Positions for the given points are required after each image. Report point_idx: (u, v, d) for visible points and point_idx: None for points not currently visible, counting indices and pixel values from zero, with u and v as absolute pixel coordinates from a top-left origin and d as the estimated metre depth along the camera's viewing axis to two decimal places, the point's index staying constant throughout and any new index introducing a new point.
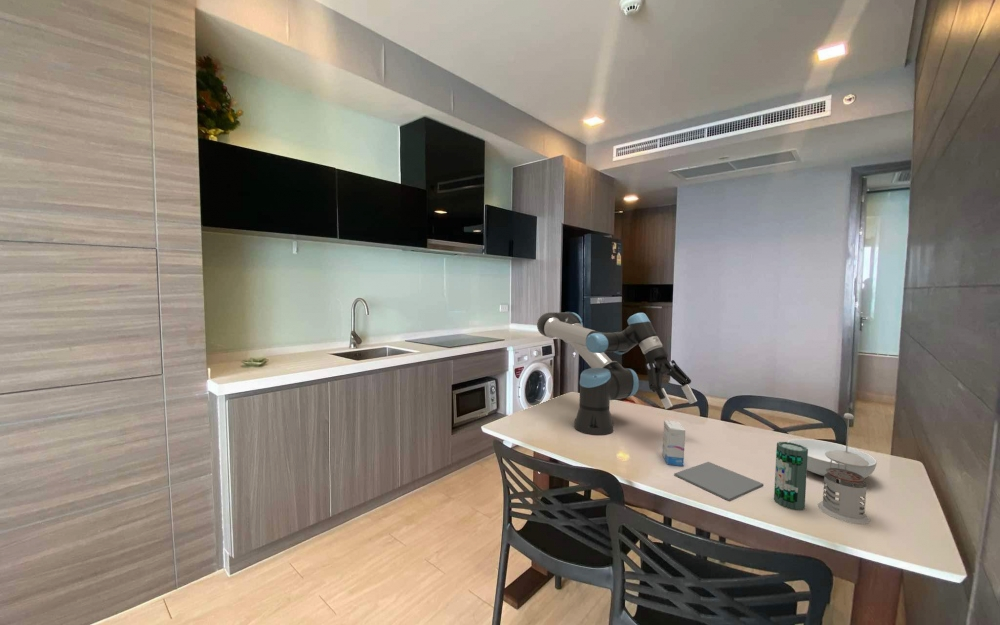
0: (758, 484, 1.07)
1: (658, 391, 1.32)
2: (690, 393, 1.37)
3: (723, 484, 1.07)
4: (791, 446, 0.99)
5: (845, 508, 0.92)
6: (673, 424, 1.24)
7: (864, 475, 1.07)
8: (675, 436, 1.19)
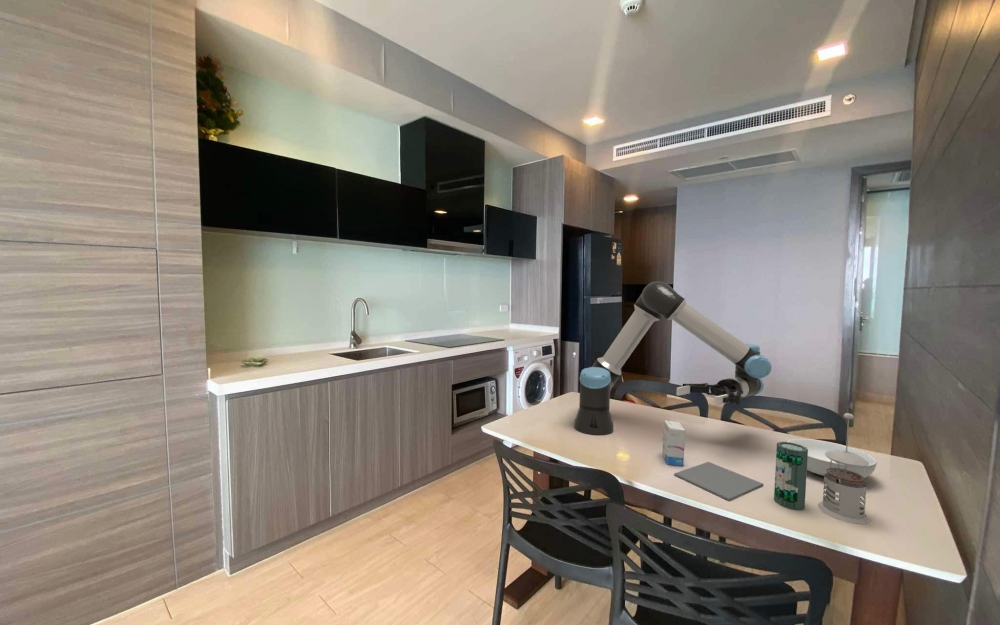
0: (758, 484, 1.07)
1: (731, 400, 1.24)
2: (684, 393, 1.35)
3: (723, 484, 1.07)
4: (791, 446, 0.99)
5: (845, 508, 0.92)
6: (673, 424, 1.24)
7: (864, 475, 1.07)
8: (675, 436, 1.19)
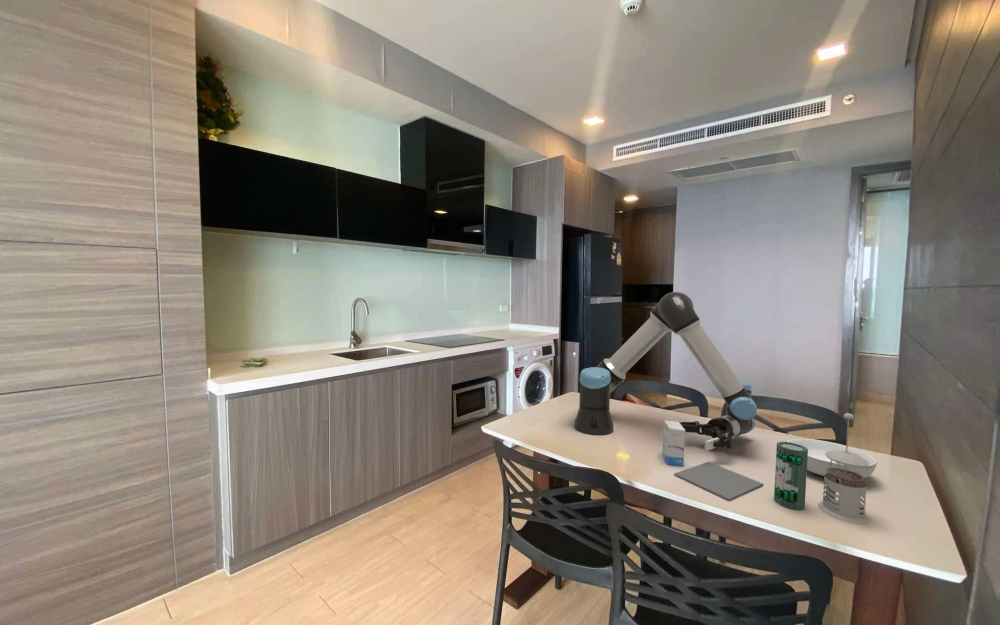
0: (758, 484, 1.07)
1: (721, 444, 1.21)
2: None
3: (723, 484, 1.07)
4: (791, 446, 0.99)
5: (845, 508, 0.92)
6: (673, 424, 1.24)
7: (864, 475, 1.07)
8: (675, 436, 1.19)
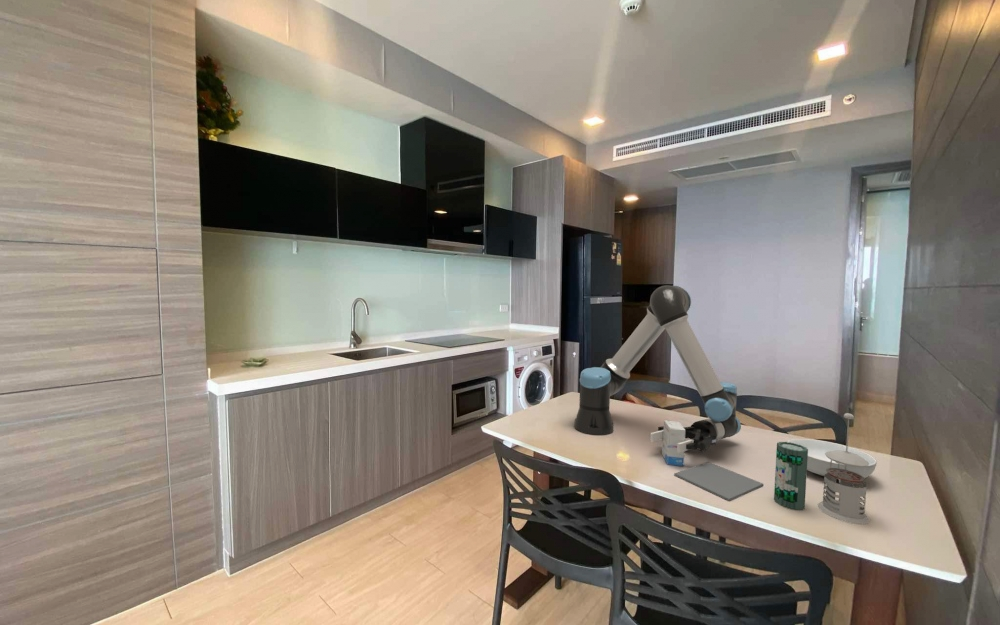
0: (758, 484, 1.07)
1: (694, 447, 1.19)
2: (658, 438, 1.27)
3: (723, 484, 1.07)
4: (791, 446, 0.99)
5: (845, 508, 0.92)
6: (673, 424, 1.24)
7: (864, 475, 1.07)
8: (675, 436, 1.19)
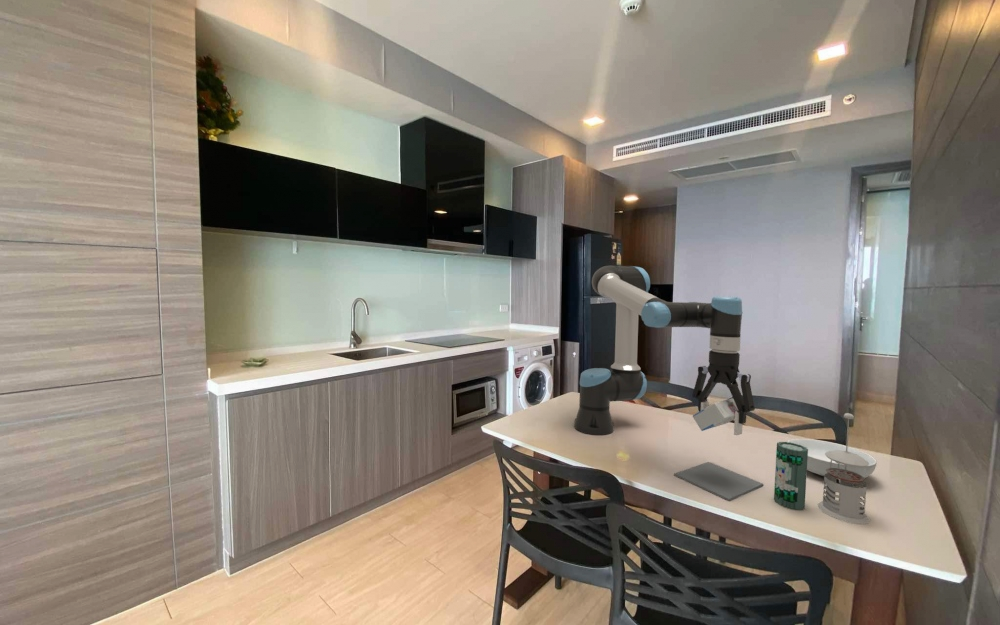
0: (758, 484, 1.07)
1: None
2: None
3: (723, 484, 1.07)
4: (791, 446, 0.99)
5: (845, 508, 0.92)
6: None
7: (864, 475, 1.07)
8: None
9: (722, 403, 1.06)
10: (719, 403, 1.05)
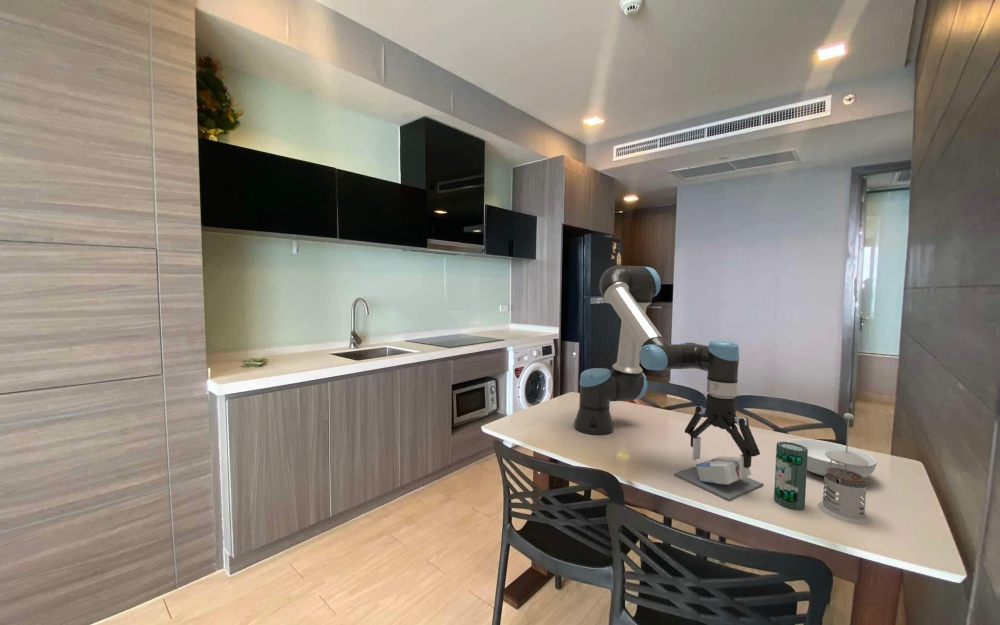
0: (758, 484, 1.07)
1: None
2: None
3: (723, 484, 1.07)
4: (791, 446, 0.99)
5: (845, 508, 0.92)
6: None
7: (864, 475, 1.07)
8: None
9: (731, 465, 1.04)
10: (728, 466, 1.03)
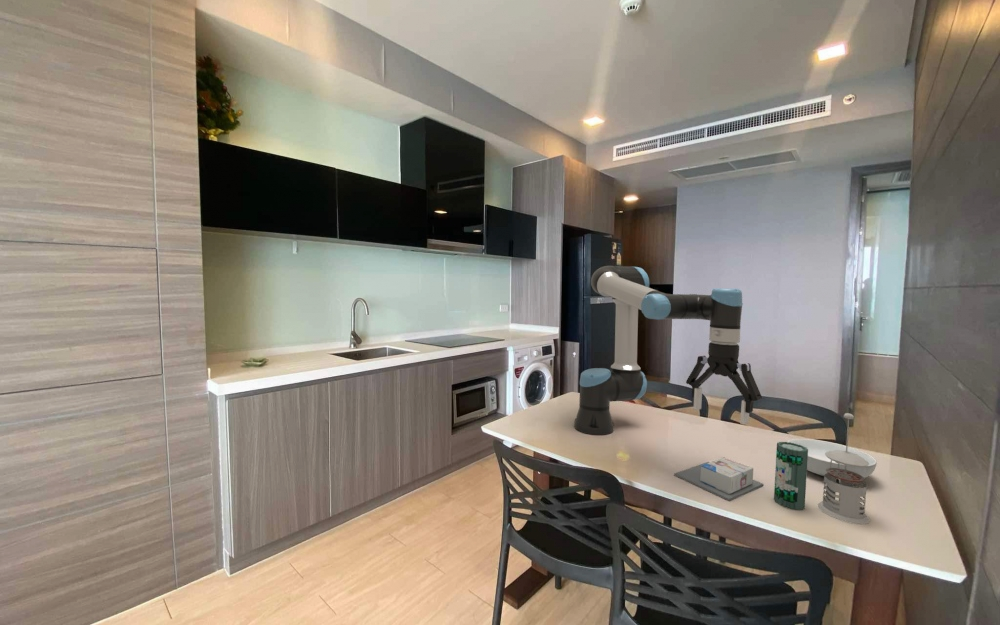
0: (758, 484, 1.07)
1: None
2: None
3: None
4: (791, 446, 0.99)
5: (845, 508, 0.92)
6: None
7: (864, 475, 1.07)
8: None
9: (737, 476, 1.03)
10: (735, 477, 1.02)
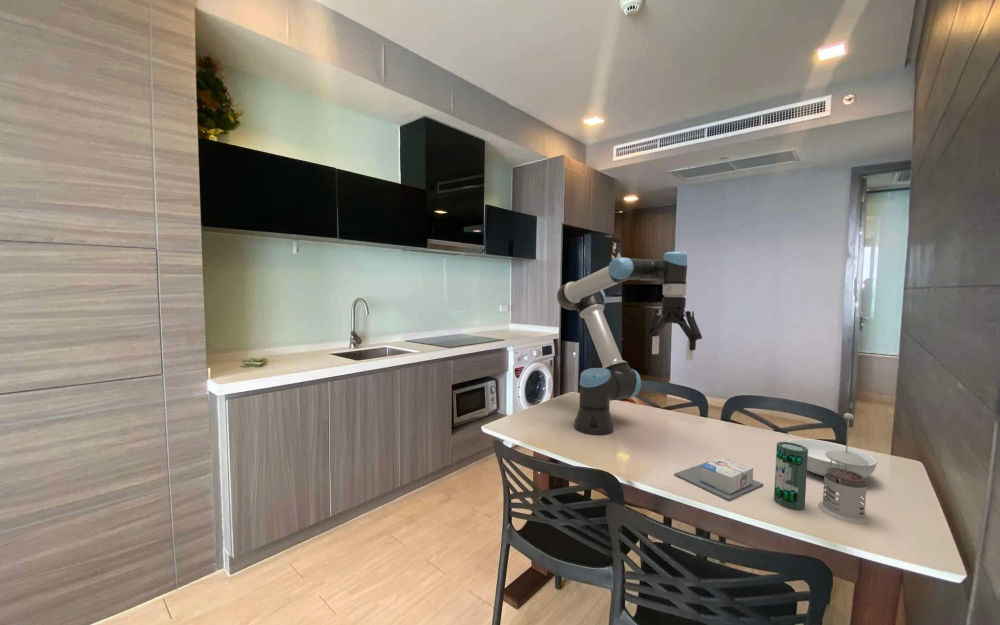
0: (758, 484, 1.07)
1: None
2: None
3: None
4: (791, 446, 0.99)
5: (845, 508, 0.92)
6: None
7: (864, 475, 1.07)
8: None
9: (737, 476, 1.03)
10: (735, 477, 1.02)
